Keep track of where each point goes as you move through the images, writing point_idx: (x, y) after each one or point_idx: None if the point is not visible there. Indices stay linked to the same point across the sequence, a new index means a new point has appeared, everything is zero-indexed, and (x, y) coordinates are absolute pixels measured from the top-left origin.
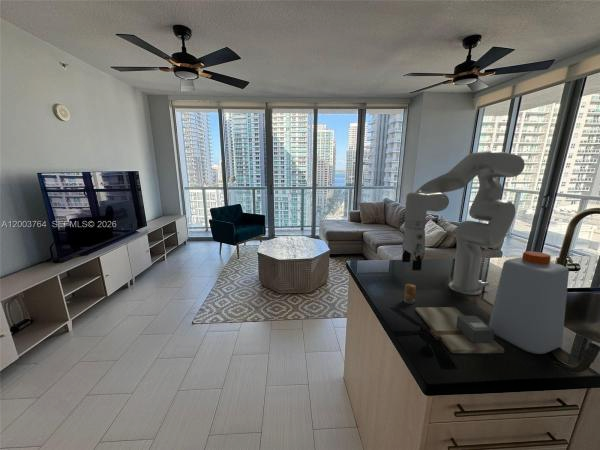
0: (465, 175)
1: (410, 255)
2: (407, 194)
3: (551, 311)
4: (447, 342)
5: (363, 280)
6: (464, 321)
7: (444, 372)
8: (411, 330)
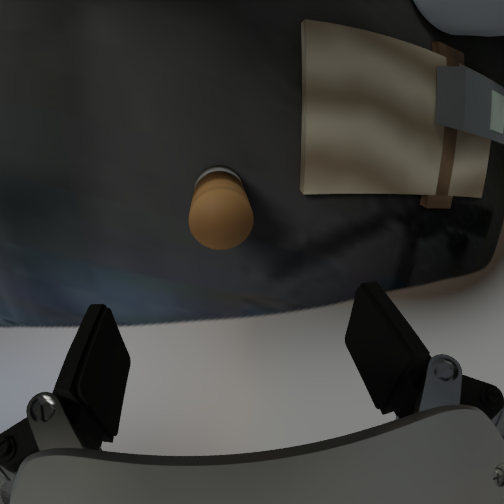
0: None
1: (85, 366)
2: None
3: None
4: (467, 194)
5: (52, 319)
6: (483, 135)
7: (490, 236)
8: (401, 250)
